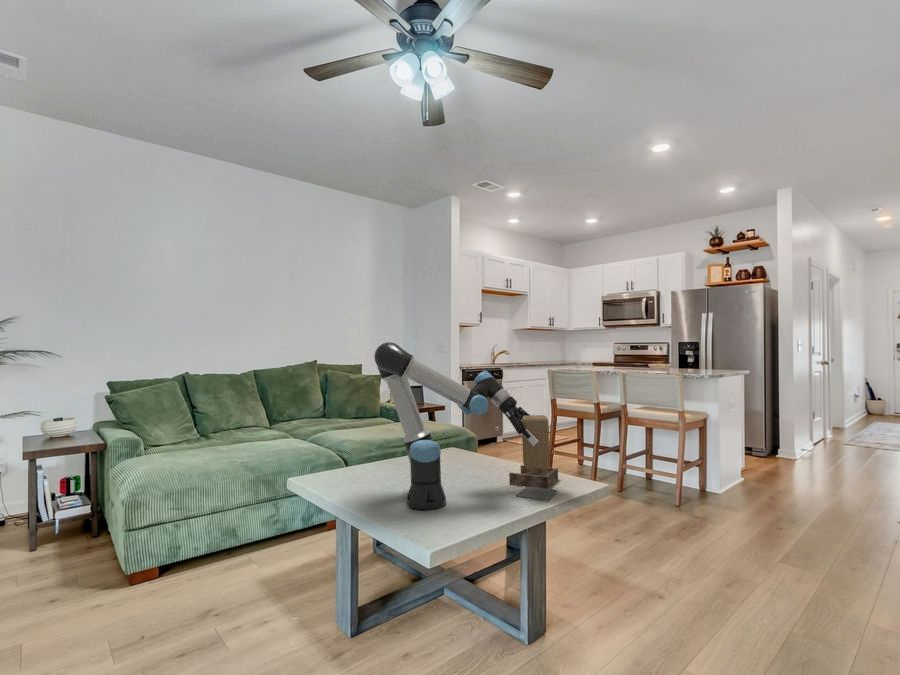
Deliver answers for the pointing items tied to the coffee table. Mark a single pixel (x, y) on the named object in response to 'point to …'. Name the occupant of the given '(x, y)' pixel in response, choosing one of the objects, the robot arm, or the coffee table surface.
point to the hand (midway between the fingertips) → (541, 440)
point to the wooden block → (540, 451)
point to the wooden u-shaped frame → (534, 477)
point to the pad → (537, 493)
